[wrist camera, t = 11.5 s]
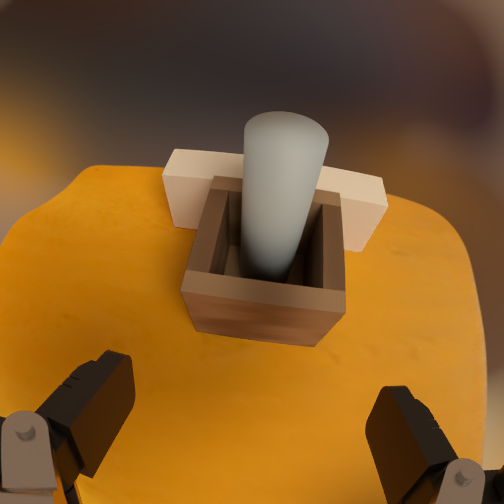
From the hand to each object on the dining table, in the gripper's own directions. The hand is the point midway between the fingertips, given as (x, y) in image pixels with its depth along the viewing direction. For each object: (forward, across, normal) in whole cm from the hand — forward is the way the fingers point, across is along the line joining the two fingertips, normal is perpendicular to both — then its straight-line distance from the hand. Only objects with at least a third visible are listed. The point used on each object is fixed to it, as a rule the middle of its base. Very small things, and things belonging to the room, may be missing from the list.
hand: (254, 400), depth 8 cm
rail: (+18, 0, -3) cm, 18 cm away
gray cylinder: (+14, 0, 0) cm, 14 cm away
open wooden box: (+14, 0, +1) cm, 14 cm away
